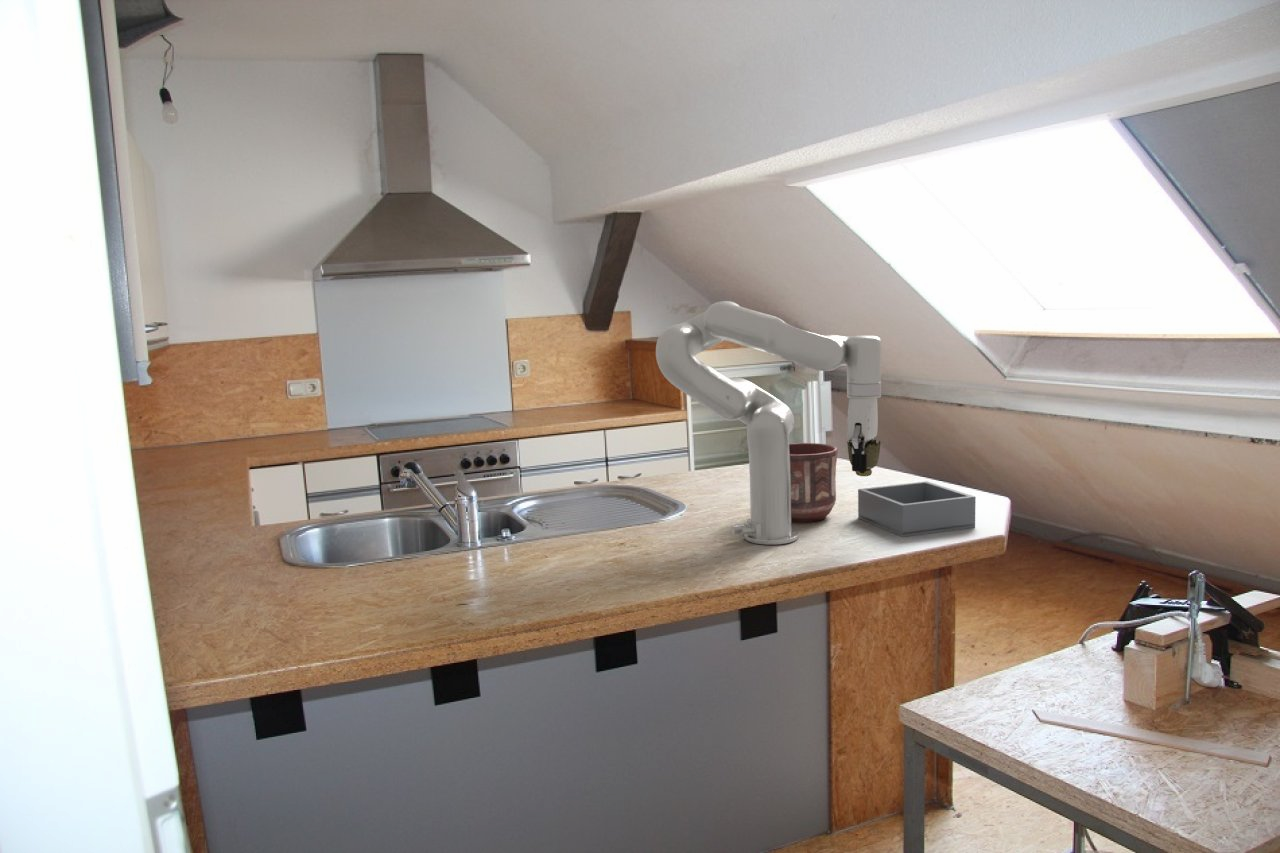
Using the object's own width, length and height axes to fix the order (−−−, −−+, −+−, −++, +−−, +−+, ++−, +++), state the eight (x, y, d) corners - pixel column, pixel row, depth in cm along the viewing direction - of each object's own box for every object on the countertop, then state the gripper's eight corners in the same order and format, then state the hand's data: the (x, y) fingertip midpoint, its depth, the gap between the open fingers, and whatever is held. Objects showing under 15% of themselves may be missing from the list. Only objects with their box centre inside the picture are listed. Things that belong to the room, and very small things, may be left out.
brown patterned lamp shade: (841, 473, 222) (841, 439, 221) (869, 470, 225) (869, 437, 223) (857, 479, 215) (857, 444, 214) (886, 476, 218) (886, 442, 216)
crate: (902, 536, 225) (902, 505, 224) (858, 518, 244) (858, 489, 243) (975, 527, 231) (975, 496, 230) (926, 509, 250) (926, 481, 249)
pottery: (818, 529, 235) (817, 456, 232) (755, 520, 245) (754, 451, 243) (849, 513, 249) (848, 445, 246) (788, 506, 259) (787, 440, 257)
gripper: (857, 386, 226) (857, 460, 229) (836, 394, 211) (836, 474, 214) (889, 386, 223) (889, 462, 226) (871, 395, 208) (870, 476, 210)
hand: (863, 467), depth 220 cm, fingers closed on brown patterned lamp shade, 7 cm apart
